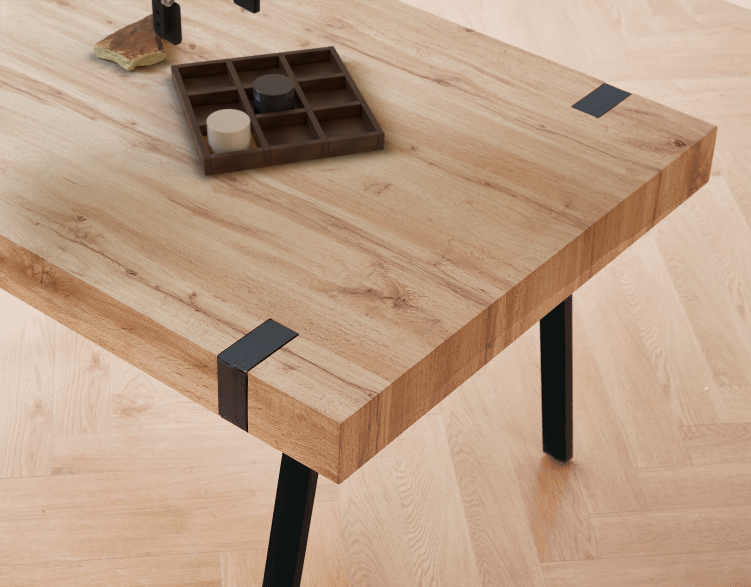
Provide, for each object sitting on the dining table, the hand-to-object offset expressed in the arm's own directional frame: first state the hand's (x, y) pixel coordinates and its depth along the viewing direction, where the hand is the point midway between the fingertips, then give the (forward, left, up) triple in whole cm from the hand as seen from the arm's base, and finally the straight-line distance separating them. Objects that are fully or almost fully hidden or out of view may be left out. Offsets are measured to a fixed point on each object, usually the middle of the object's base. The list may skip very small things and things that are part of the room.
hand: (208, 23), depth 102 cm
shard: (-6, +23, -15) cm, 28 cm away
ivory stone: (+1, -1, -14) cm, 14 cm away
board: (+7, +5, -15) cm, 17 cm away
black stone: (+7, +5, -14) cm, 17 cm away
